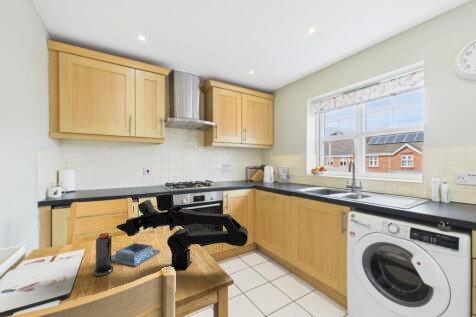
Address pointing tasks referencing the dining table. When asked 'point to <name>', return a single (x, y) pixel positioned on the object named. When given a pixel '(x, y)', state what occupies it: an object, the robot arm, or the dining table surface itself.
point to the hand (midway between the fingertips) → (124, 223)
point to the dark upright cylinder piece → (103, 255)
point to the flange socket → (134, 254)
